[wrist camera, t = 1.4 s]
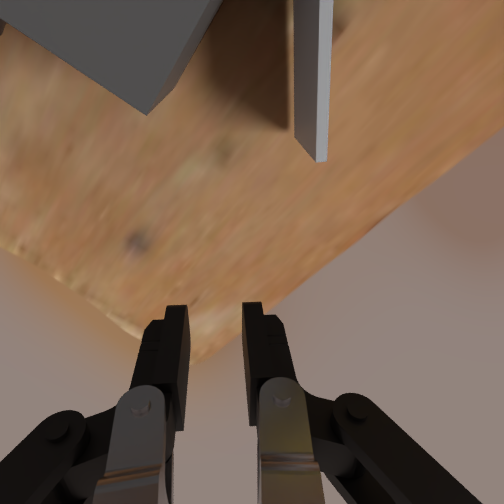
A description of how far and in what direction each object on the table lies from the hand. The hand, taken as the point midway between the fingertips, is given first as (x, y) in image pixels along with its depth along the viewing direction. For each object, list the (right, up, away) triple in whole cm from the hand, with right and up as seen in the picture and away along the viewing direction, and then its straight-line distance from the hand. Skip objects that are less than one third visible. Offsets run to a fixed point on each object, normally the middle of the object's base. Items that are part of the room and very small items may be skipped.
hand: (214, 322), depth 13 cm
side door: (+5, +18, +11) cm, 22 cm away
